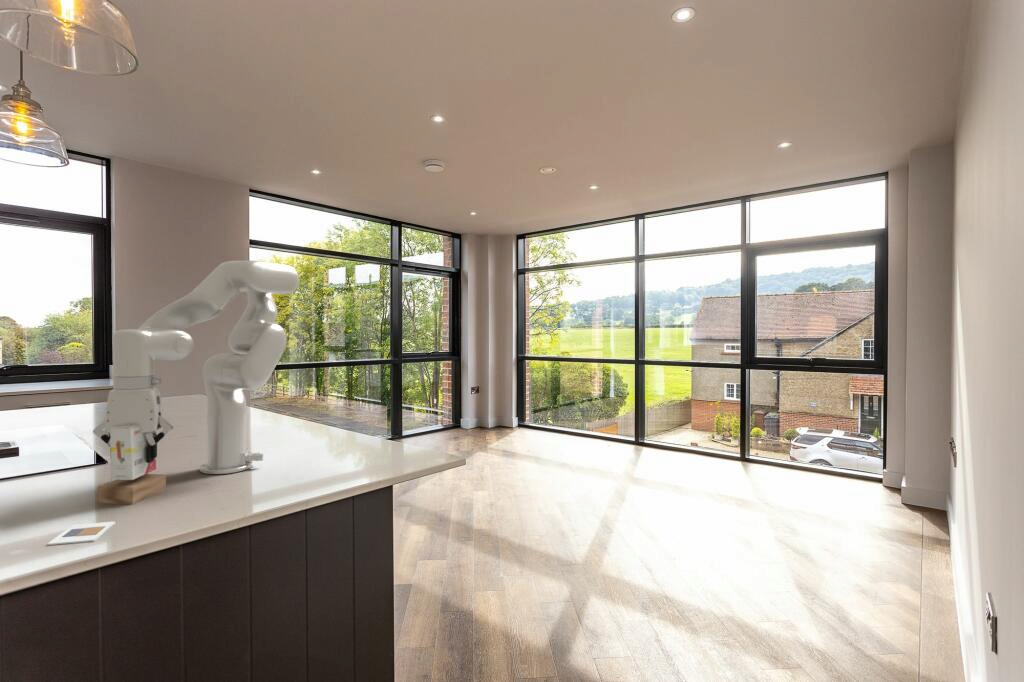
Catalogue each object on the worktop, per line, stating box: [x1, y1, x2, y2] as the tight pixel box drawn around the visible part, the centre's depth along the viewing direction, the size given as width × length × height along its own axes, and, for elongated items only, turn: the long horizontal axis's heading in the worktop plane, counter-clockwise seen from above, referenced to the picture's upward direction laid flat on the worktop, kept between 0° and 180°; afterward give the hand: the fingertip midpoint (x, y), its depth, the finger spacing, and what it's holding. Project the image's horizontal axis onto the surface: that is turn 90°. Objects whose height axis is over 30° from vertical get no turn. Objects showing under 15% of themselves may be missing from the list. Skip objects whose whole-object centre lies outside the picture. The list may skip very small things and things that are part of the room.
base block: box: [97, 473, 167, 505], centre depth 117 cm, size 8×10×4 cm
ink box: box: [110, 425, 157, 481], centre depth 117 cm, size 9×5×12 cm, turn 3°
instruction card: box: [46, 520, 117, 546], centre depth 96 cm, size 7×9×1 cm
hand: (134, 461), depth 117 cm, fingers closed on ink box, 5 cm apart
